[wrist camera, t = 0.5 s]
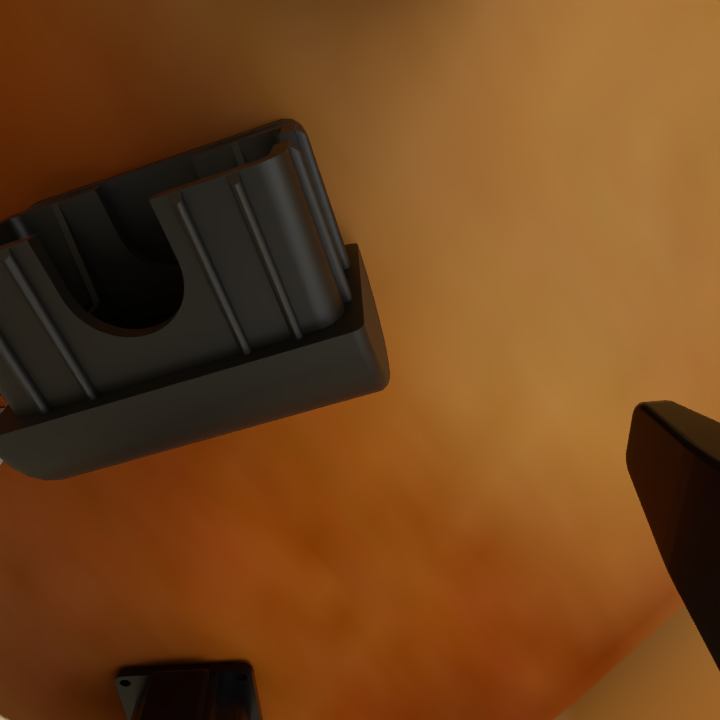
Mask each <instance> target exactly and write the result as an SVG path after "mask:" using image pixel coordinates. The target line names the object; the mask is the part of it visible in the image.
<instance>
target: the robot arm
mask: <svg viewBox="0 0 720 720" xmlns="http://www.w3.org/2000/svg"><path fill="white" fill-rule="evenodd" d="M626 463H627V468H628V471H629V474H630V477H631V479H632V482H633V485H634V487H635V490H636V492H637V495H638V497H639V500H640V503H641V505H642V508H643V510H644V513H645V515H646V518H647V521H648V523H649V526H650V528H651V531H652V534H653V536H654V539H655V541H656V544H657V546H658V549H659V552H660V554H661V556H662V559H663V561H664V564H665V566H666V568H667V571H668V573H669V575H670V577H671V579H672V581H673V583H674V585H675V587H676V589H677V591H678V593H679V595H680V596H681V598H682V600H683V602H684V604H685V606H686V608H687V610H688V612H689V614H690V616H691V617H692V619H693V621H694V623H695V625H696V627H697V629H698V630H699V632H700V635H701V636H702V638H703V640H704V642H705V644H706V646H707V648H708V650H709V652H710V653H711V655H712V657H713V659H714V661H715V663H716V665H717V667H718V669H719V671H720V423H719V422H717V421H715V420H713V419H710V418H708V417H706V416H704V415H701V414H699V413H697V412H695V411H693V410H690V409H688V408H686V407H684V406H682V405H679V404H677V403H675V402H672V401H668V400H662V401H650V402H641V403H639V404H638V405H637V406H636V407H635V409H634V411H633V415H632V421H631V427H630V433H629V439H628V444H627V450H626ZM114 682H115V686H116V689H117V692H118V695H119V698H120V700H121V703H122V706H123V709H124V712H125V714H126V717H127V720H262V714H261V709H260V703H259V698H258V692H257V687H256V681H255V676H254V670H253V668H252V666H250V665H249V664H246V663H233V664H212V665H192V666H172V667H151V668H131V669H121V670H120V671H118V673H117V675H116V678H115V681H114Z"/></svg>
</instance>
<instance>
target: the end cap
mask: <svg viewBox="0 0 720 720" xmlns="http://www.w3.org/2000/svg"><path fill="white" fill-rule="evenodd" d="M389 379H390V370H389V362H388V356H387V351H386V346H385V341H384V337H383V332H382V328H381V324H380V320H379V316H378V312H377V308H376V305H375V301H374V297H373V294H372V290H371V287H370V283H369V280H368V276H367V273H366V270H365V266H364V263H363V260H362V257H361V253H360V250H359V247H358V245H357V244H348V245H345V246H344V243H343V240H342V237H341V234H340V231H339V228H338V225H337V222H336V219H335V216H334V213H333V210H332V207H331V204H330V201H329V198H328V195H327V192H326V189H325V186H324V183H323V180H322V177H321V174H320V172H319V169H318V166H317V163H316V160H315V157H314V154H313V151H312V148H311V145H310V142H309V139H308V136H307V133H306V132H305V130H304V129H303V127H302V126H301V124H299V123H298V122H296V121H294V120H292V119H281V120H278V121H275V122H272V123H269V124H266V125H263V126H260V127H257V128H254V129H251V130H249V131H246V132H243V133H240V134H237V135H234V136H231V137H228V138H225V139H222V140H219V141H216V142H213V143H210V144H207V145H204V146H201V147H198V148H195V149H192V150H190V151H187V152H184V153H181V154H178V155H175V156H172V157H169V158H166V159H163V160H160V161H157V162H154V163H151V164H148V165H145V166H142V167H139V168H136V169H133V170H131V171H128V172H125V173H122V174H119V175H116V176H113V177H110V178H107V179H104V180H101V181H98V182H95V183H92V184H89V185H86V186H83V187H80V188H77V189H75V190H72V191H69V192H66V193H63V194H60V195H57V196H54V197H51V198H48V199H45V200H42V201H39V202H37V203H36V204H34V205H33V206H31V207H30V208H29V209H27V210H26V211H25V212H22V213H19V214H16V215H14V216H11V217H9V218H7V219H5V220H2V221H0V394H1V395H2V396H3V398H4V399H5V401H6V402H7V404H8V405H7V406H6V408H5V409H4V410H3V411H2V412H1V414H0V458H1V459H2V460H3V461H5V462H6V463H7V464H8V465H10V466H11V467H12V468H14V469H16V470H18V471H20V472H21V473H23V474H25V475H27V476H30V477H34V478H38V479H43V480H61V479H66V478H69V477H73V476H77V475H80V474H84V473H87V472H91V471H95V470H98V469H102V468H105V467H109V466H112V465H116V464H120V463H123V462H127V461H130V460H134V459H138V458H141V457H145V456H148V455H152V454H156V453H159V452H163V451H166V450H170V449H173V448H177V447H181V446H184V445H188V444H191V443H195V442H199V441H202V440H206V439H209V438H213V437H216V436H220V435H224V434H227V433H231V432H234V431H238V430H242V429H245V428H249V427H252V426H256V425H260V424H263V423H267V422H270V421H274V420H277V419H281V418H285V417H288V416H292V415H295V414H299V413H303V412H306V411H310V410H313V409H317V408H320V407H324V406H328V405H331V404H335V403H338V402H342V401H346V400H349V399H353V398H356V397H360V396H364V395H367V394H371V393H374V392H378V391H381V390H383V389H384V388H385V387H386V386H387V385H388V383H389Z"/></svg>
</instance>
